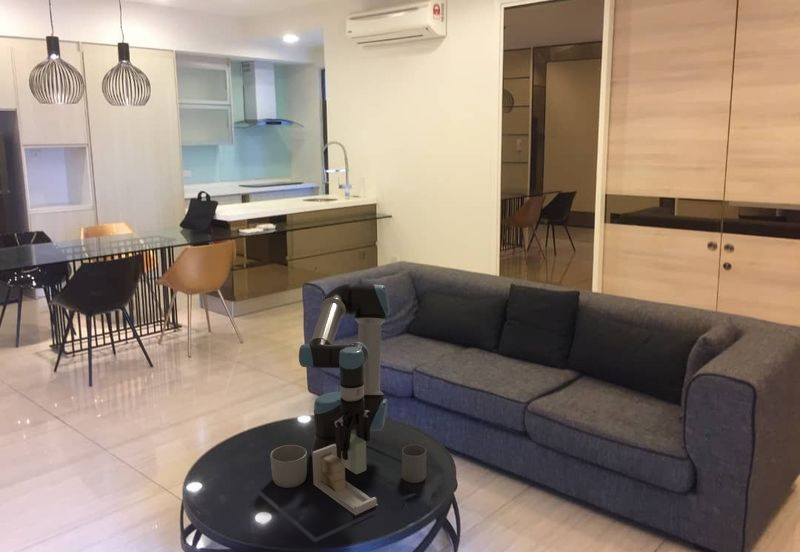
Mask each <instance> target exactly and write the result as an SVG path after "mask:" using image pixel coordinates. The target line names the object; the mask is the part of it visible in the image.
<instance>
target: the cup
mask: <svg viewBox="0 0 800 552" xmlns="http://www.w3.org/2000/svg"><path fill="white" fill-rule="evenodd" d="M426 477H427V449H426V447H424V446H422V445H419V444H408V445H406V446H403V447H402V449H401V478H402V480H403V481H405V482H407V483H413V484H415V483H421V482H424V480H426Z"/></svg>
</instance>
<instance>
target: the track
mask: <svg viewBox="0 0 800 552" xmlns="http://www.w3.org/2000/svg"><path fill="white" fill-rule="evenodd" d="M330 453H332V454H334V455H335V456H337V448H336V444H332V445H330V446H327V447H324V448H322V449H319V450H316V451H313V452H312V456H313V459H312V476H313V481H312V482H313V486H315V487H316V488H318V489H319V490H320V491H322V492H323V493H324V494H326V495H328V497H330V498H331V499H333V500H334V501H335V502H336V503H338V504H339V505H340V506H342V507H343V508H345V509H346V510H348V511H349V512H350V513H352V514H353V515H354V516H357V515H359V514H361V513H364V512H365V511H368V510H370V509H372V508H374V507H376V506H378V505H379V504H378V503H377V497H376V496H373V497H370V496H369V495H367V494H366V493H364V492H363V491H362V490H360V489H358V488H357V487H355V486H354V485H353V484H351V483H350V482H348V481H347V480H345V489H344V490H342V491H340V492H337V493H336V492H335V491H333V490H332V489H330V488H329V487H328V486H326V485H325V484H324V483H322V464H321V457H322V456H324V455H327V454H330Z"/></svg>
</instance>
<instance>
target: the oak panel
mask: <svg viewBox="0 0 800 552" xmlns="http://www.w3.org/2000/svg"><path fill="white" fill-rule="evenodd" d="M321 464H322V483H324V484H325V485H326V486H328V487H329V488H330V489H332V490H333V491H335V492H336V493H337V492H340V491H342V490H344V489H345V481H346V468H345V467H344V466H342V463H341V459H340V458H338V457H337V456H335V455H334V454H332V453H330V454H327V455H324V456H322V457H321Z"/></svg>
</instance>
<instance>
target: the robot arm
mask: <svg viewBox="0 0 800 552" xmlns="http://www.w3.org/2000/svg"><path fill="white" fill-rule="evenodd" d="M319 306H320V307H319V310H320V314H319V317H318V320H317V323H316V325H315V327H314V331H313V334H312V337H311V339H310V342H309V343H306V344H305V343H303V344H302V345H300V348H299V351H298V362H299V365H300V367H302V368H311V369H315V368H316V369H339V391H331V392H326V393H323V394H321V395H319V396H318V397H317V398H316V399H315V400H314V405H313V408H314V409H313V414H314V415H313V417H314V438H313V442H312V446H311V449H310V458H311V459H312V460H313V456H312V452H313V451H316V450H319V449H322V448H324V447H327V446H330V445H332V444H336V448H337V457H338V458H340V459H341V451H342V458H343V459H344V467H345V469H347V470H349V471H350V470H351V450H349V443H350V436H351V433H352V431H355V435H356V436H358V437H360V438H361V439H363V440H365V441H366V446H367V442H369V441H370V439H371V437H370V435H371V432H379V431H382V430H383V429H384V426H385V422H386V418H387V411H388V399H387V398H384V397H385V394H384V392H382V390H381V359H382V358H381V352H382V347H381V346H382V325H383V323H385V321H386V320H387V319H386V317H388V316H390V314H391V312H390V309H391V307H390V299H389V292H388V288H387V287H386V286H385V285H384V284H376V283H372V284H371V283H370V284H369V283H361V284H360V283H352V284H351V283H346V284H342V285H339V286H337V287H335V288H333V289H331V290H330V291H329V292H328V293H327V294H326V295H324V297H323V299H322V301H321V303H320V305H319ZM349 315H350V316H354V320H355V322H356V323H357V324H358V328H357V330H358V333H357V335H358V336H357V341H353V342H351V343H350V344H334V342H335V338H336V335H337V332H338V329H339V326H340V324H341V320H342V319H343V318H344V316H349Z"/></svg>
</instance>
